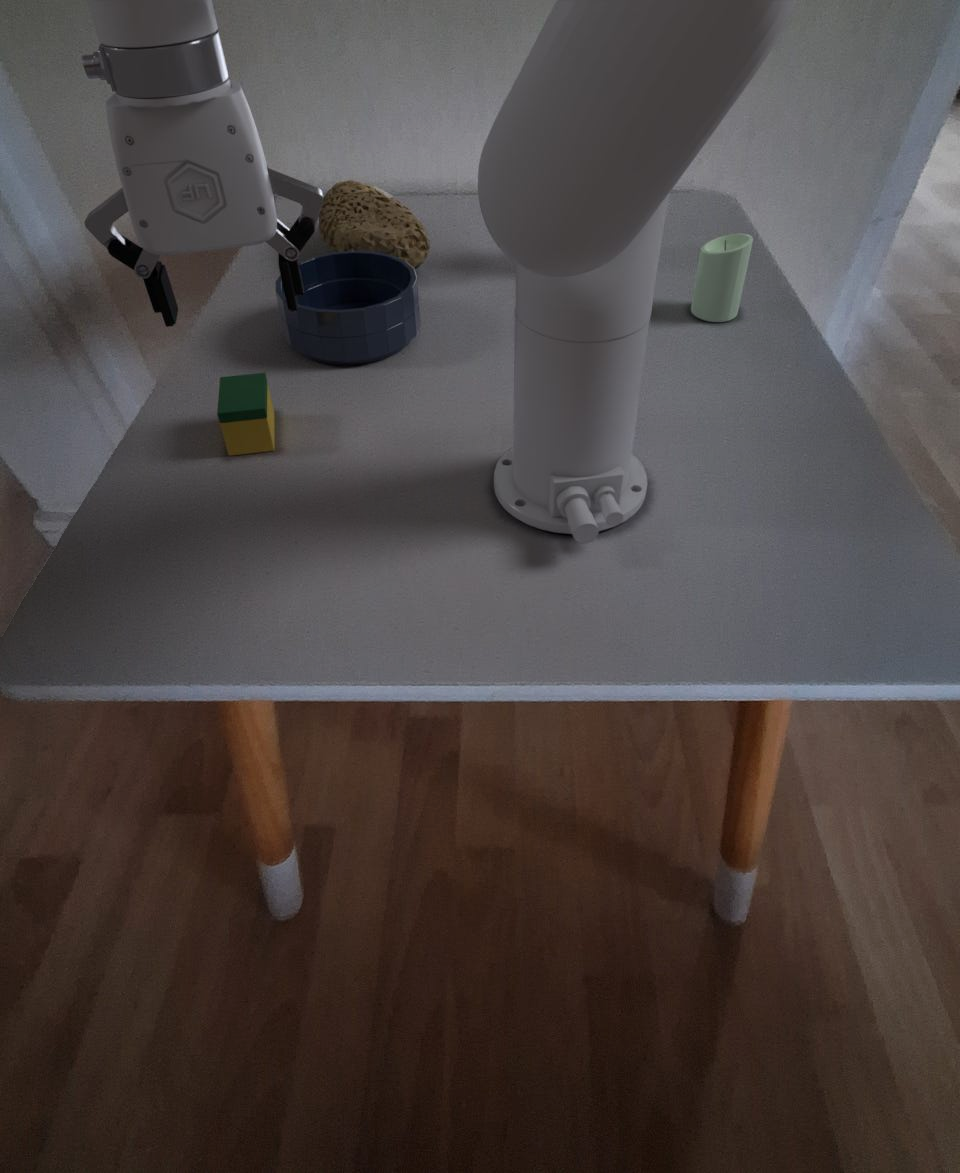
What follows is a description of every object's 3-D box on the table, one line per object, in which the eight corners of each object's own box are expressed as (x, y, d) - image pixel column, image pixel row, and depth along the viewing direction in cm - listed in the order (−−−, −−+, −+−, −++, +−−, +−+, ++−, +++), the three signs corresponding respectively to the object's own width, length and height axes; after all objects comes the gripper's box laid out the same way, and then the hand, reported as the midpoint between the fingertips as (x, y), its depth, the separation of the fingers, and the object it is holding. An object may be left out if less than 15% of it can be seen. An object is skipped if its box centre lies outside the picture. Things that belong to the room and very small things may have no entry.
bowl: (428, 360, 85) (424, 304, 81) (286, 375, 84) (275, 318, 79) (412, 298, 95) (408, 245, 91) (285, 310, 94) (275, 256, 89)
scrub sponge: (274, 451, 74) (265, 408, 71) (228, 456, 74) (217, 413, 71) (274, 414, 79) (265, 372, 76) (231, 418, 78) (220, 376, 75)
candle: (686, 318, 91) (699, 242, 85) (694, 298, 94) (707, 224, 88) (733, 326, 89) (749, 249, 84) (740, 305, 93) (756, 230, 87)
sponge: (319, 238, 111) (312, 270, 94) (321, 172, 107) (315, 194, 90) (418, 250, 113) (429, 284, 96) (424, 187, 109) (437, 211, 92)
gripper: (22, 96, 52) (117, 347, 64) (300, 68, 54) (343, 319, 66) (45, 67, 58) (129, 304, 70) (298, 43, 59) (338, 279, 71)
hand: (233, 311), depth 68 cm, fingers open, 9 cm apart
